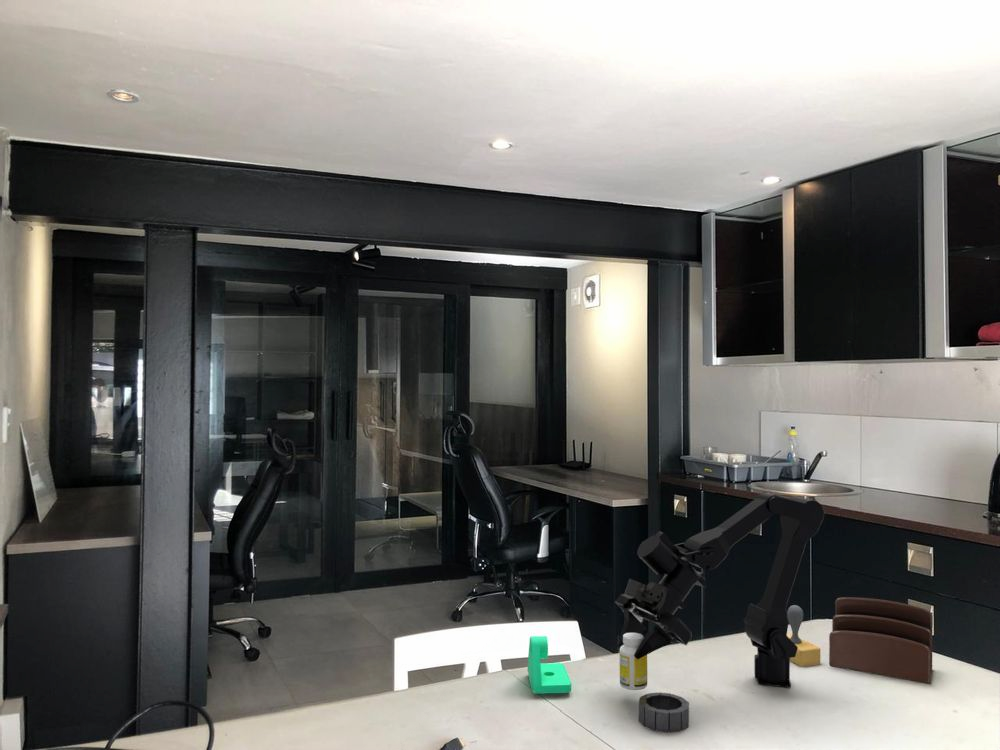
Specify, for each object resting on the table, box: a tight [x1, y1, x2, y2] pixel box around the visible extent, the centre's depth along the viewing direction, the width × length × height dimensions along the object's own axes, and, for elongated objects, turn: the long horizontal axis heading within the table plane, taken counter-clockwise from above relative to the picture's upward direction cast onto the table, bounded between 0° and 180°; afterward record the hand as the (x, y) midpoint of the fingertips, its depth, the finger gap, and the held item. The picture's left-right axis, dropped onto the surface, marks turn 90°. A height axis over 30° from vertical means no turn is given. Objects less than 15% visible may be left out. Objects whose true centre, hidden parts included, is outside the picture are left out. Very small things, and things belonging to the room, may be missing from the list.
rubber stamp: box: [786, 604, 821, 668], centre depth 178 cm, size 10×6×12 cm, turn 19°
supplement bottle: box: [619, 633, 648, 691], centre depth 153 cm, size 5×5×10 cm
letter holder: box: [828, 596, 933, 685], centre depth 172 cm, size 10×20×14 cm, turn 59°
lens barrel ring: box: [638, 692, 690, 734], centre depth 144 cm, size 9×9×4 cm
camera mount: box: [527, 635, 572, 694], centre depth 161 cm, size 12×8×10 cm, turn 4°
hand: (627, 652), depth 153 cm, fingers closed on supplement bottle, 5 cm apart
